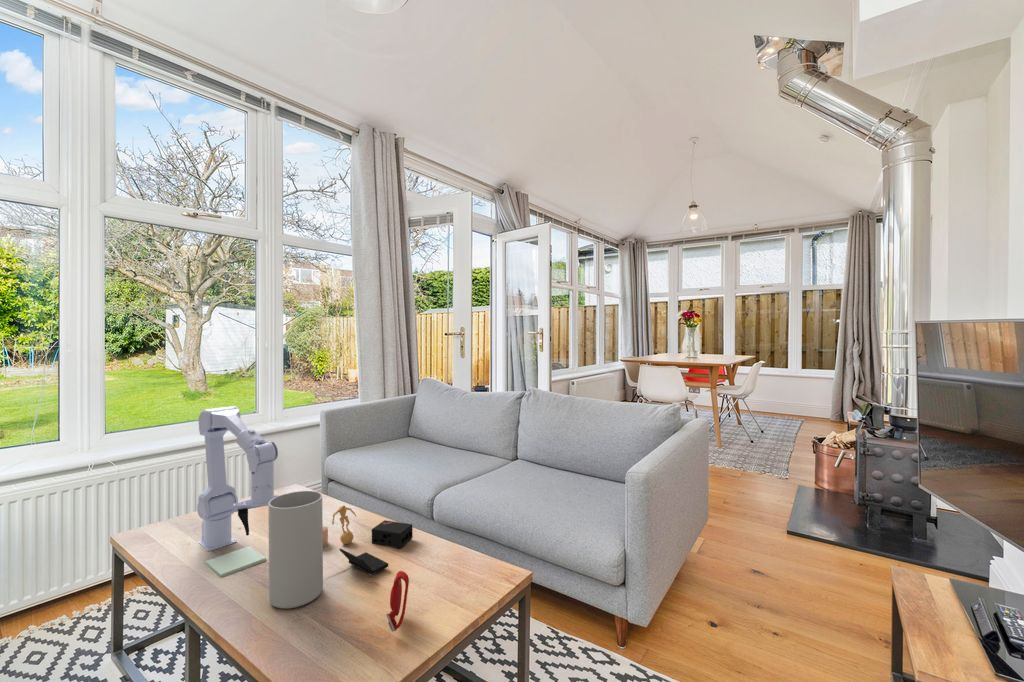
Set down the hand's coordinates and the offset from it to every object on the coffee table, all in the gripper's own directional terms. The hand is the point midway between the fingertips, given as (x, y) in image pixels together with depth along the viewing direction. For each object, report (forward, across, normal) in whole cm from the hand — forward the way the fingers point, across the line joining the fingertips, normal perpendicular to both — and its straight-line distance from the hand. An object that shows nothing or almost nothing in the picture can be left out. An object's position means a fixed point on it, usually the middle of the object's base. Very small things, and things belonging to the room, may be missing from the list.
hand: (262, 531), depth 130 cm
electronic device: (+10, +37, -4) cm, 39 cm away
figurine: (+10, +23, +3) cm, 26 cm away
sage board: (+10, -7, +6) cm, 14 cm away
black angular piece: (+11, +28, -16) cm, 34 cm away
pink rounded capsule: (+10, +16, +5) cm, 20 cm away
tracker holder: (+10, +27, -45) cm, 54 cm away
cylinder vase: (+10, +7, -22) cm, 25 cm away
